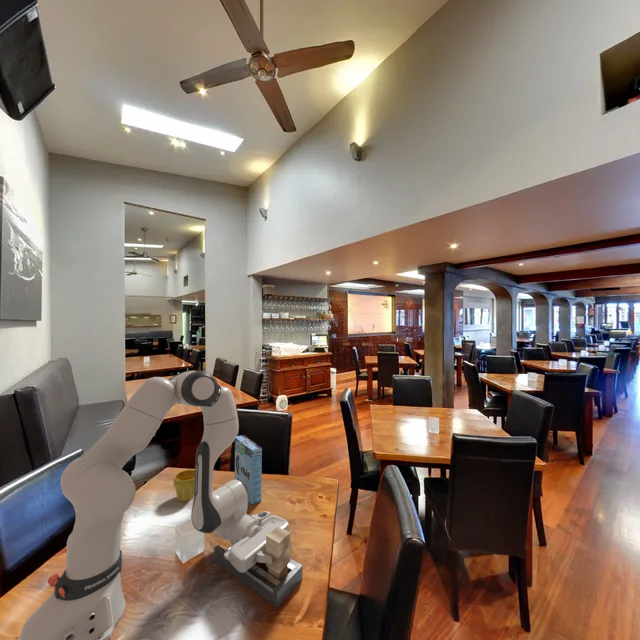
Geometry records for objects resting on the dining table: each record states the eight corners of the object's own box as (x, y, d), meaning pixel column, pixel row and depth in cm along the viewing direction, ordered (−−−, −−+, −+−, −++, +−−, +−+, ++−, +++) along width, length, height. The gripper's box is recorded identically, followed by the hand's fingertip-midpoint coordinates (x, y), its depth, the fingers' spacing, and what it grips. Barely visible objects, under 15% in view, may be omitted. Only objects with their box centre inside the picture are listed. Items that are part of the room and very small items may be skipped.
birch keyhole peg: (278, 595, 81) (279, 544, 82) (262, 584, 85) (263, 535, 85) (291, 580, 86) (292, 532, 87) (276, 570, 90) (277, 524, 90)
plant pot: (203, 495, 130) (204, 473, 130) (181, 507, 121) (182, 483, 121) (190, 488, 136) (190, 466, 136) (168, 498, 127) (168, 476, 127)
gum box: (261, 501, 126) (262, 447, 127) (250, 505, 123) (251, 450, 124) (243, 482, 142) (244, 434, 142) (233, 485, 139) (234, 436, 139)
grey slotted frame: (276, 607, 78) (277, 592, 78) (213, 560, 94) (213, 547, 94) (302, 579, 87) (302, 565, 87) (240, 540, 103) (240, 528, 103)
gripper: (220, 543, 85) (253, 565, 77) (270, 508, 101) (301, 523, 94) (220, 565, 84) (253, 590, 77) (270, 526, 101) (301, 543, 93)
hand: (280, 553), depth 85 cm, fingers closed on birch keyhole peg, 5 cm apart
